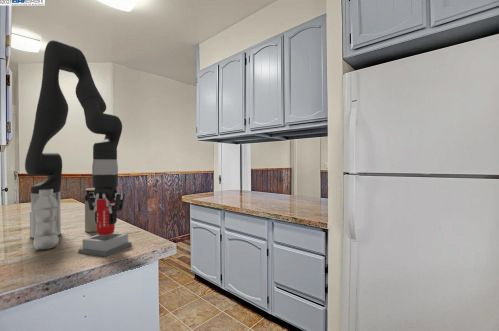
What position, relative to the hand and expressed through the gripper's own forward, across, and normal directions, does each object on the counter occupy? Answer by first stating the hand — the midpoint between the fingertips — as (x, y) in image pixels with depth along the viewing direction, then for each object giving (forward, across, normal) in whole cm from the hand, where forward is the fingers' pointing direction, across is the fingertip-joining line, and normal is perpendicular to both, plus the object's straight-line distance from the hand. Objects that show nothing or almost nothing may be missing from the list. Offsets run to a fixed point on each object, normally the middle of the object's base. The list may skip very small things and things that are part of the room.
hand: (105, 223), depth 86 cm
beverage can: (+4, 0, 0) cm, 4 cm away
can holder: (+9, 0, 0) cm, 9 cm away
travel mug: (+9, -24, +18) cm, 31 cm away
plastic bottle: (+9, -20, -6) cm, 22 cm away
